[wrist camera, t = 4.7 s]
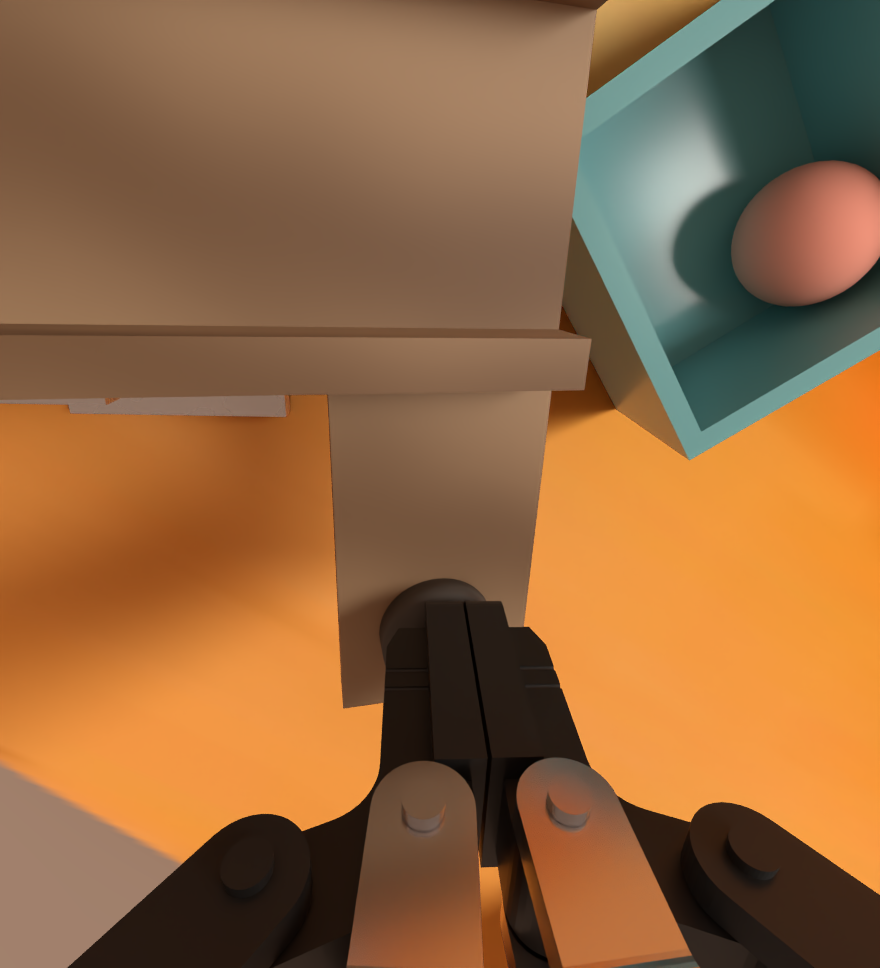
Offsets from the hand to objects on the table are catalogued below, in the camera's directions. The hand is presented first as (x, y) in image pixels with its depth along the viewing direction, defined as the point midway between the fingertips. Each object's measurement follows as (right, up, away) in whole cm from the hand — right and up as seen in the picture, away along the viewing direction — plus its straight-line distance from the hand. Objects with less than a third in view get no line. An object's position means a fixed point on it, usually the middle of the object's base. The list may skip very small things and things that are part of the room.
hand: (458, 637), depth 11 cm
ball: (+9, +9, +2) cm, 13 cm away
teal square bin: (+6, +10, +4) cm, 13 cm away
